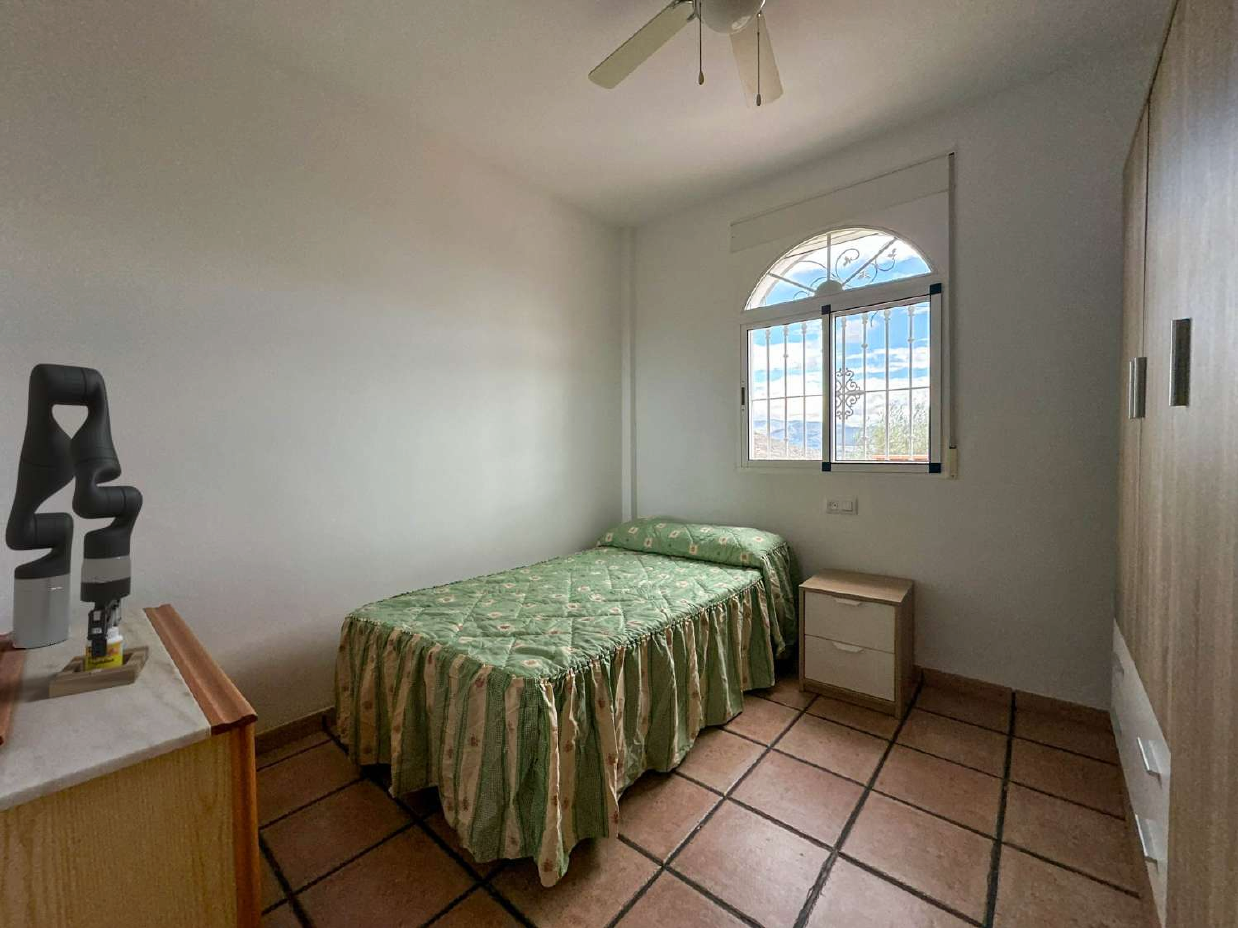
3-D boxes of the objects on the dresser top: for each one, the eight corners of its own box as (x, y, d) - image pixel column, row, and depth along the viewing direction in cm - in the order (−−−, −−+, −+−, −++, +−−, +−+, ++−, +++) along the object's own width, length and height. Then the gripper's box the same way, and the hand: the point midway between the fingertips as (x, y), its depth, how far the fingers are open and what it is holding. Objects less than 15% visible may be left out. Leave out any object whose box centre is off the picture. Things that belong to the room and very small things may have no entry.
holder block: (74, 669, 107) (74, 654, 107) (148, 657, 114) (149, 643, 114) (49, 698, 94) (49, 681, 94) (134, 682, 101) (134, 667, 101)
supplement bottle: (80, 683, 101) (81, 635, 101) (90, 673, 105) (91, 627, 105) (117, 677, 104) (118, 631, 104) (125, 668, 108) (126, 623, 108)
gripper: (90, 572, 108) (88, 643, 108) (70, 585, 96) (68, 665, 96) (137, 568, 112) (135, 637, 112) (123, 581, 101) (121, 657, 101)
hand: (104, 650), depth 104 cm, fingers open, 8 cm apart
